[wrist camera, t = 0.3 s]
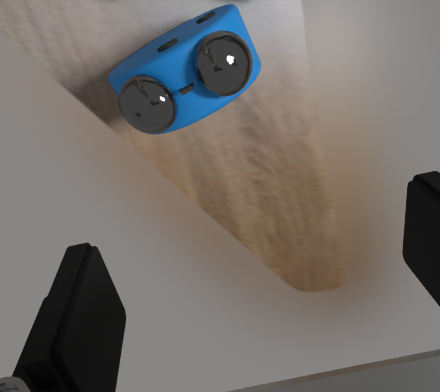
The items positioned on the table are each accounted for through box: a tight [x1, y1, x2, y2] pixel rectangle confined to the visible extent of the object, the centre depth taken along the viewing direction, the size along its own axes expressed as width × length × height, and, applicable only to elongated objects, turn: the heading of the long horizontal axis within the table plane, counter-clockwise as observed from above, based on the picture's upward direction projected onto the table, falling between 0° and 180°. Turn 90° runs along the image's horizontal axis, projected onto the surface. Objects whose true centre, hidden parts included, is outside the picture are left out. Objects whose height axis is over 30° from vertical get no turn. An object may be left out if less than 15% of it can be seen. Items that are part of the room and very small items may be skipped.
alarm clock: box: [108, 4, 261, 134], centre depth 35 cm, size 13×6×15 cm, turn 117°
